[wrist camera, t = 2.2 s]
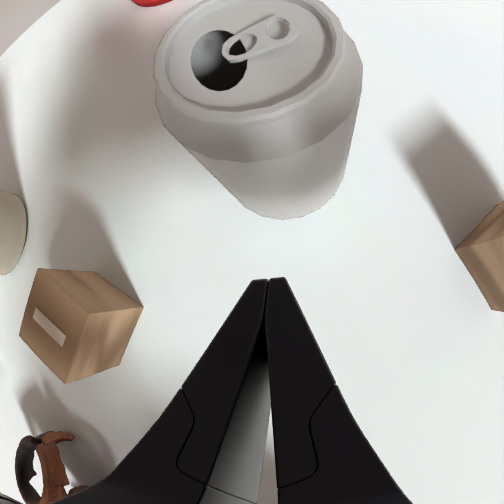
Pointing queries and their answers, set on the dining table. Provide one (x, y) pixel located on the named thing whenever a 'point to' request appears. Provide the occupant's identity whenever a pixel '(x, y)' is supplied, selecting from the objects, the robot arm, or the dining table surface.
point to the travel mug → (11, 230)
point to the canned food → (150, 2)
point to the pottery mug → (43, 468)
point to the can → (262, 99)
